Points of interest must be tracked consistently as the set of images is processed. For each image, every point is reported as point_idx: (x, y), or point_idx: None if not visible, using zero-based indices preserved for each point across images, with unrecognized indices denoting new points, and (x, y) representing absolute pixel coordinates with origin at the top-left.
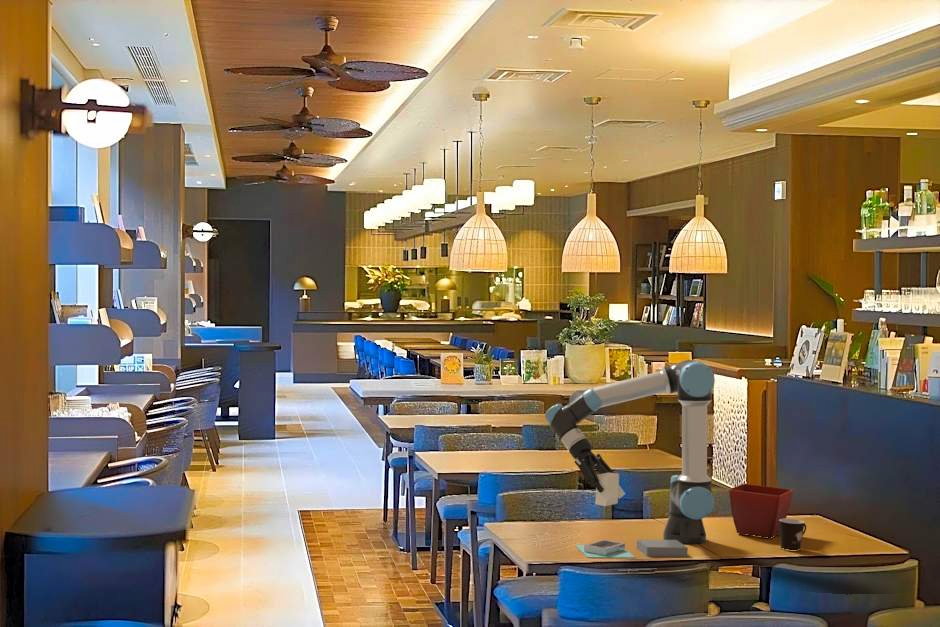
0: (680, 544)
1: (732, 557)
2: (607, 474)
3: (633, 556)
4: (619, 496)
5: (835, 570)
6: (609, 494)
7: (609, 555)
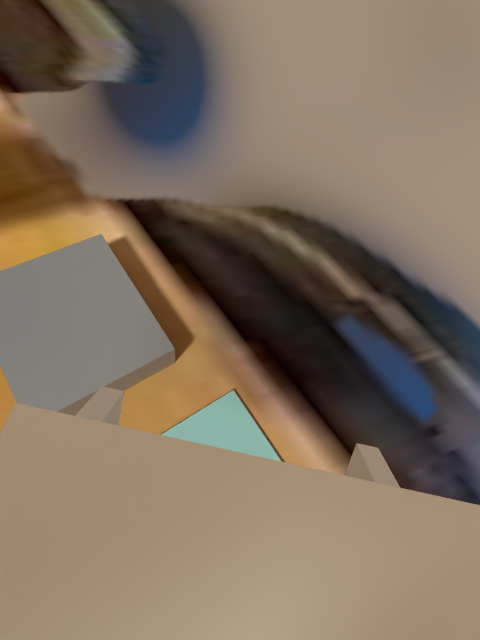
0: (56, 259)
1: (54, 158)
2: (298, 622)
3: (224, 397)
4: None
5: (94, 17)
6: (387, 467)
7: None
